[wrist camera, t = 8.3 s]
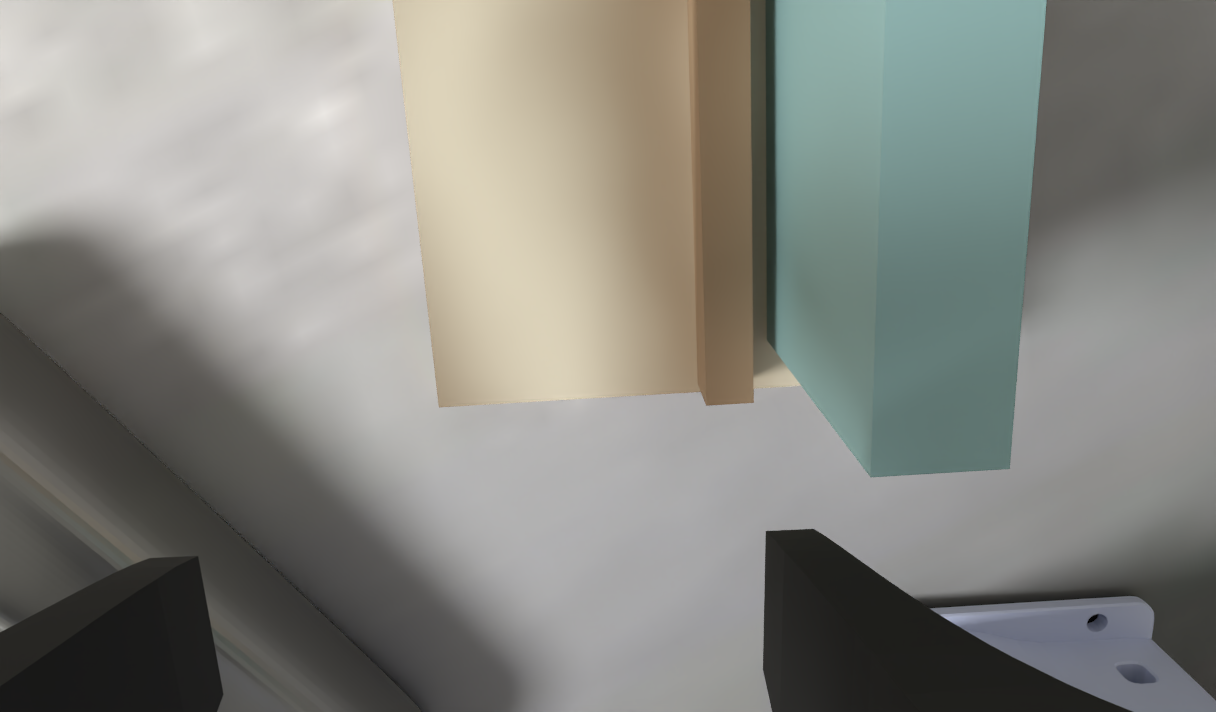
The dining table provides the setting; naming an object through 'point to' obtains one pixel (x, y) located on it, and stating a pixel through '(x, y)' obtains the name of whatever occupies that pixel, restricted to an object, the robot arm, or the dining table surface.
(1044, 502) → the dining table surface
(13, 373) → the emblem
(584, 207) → the rack
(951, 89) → the teal panel
